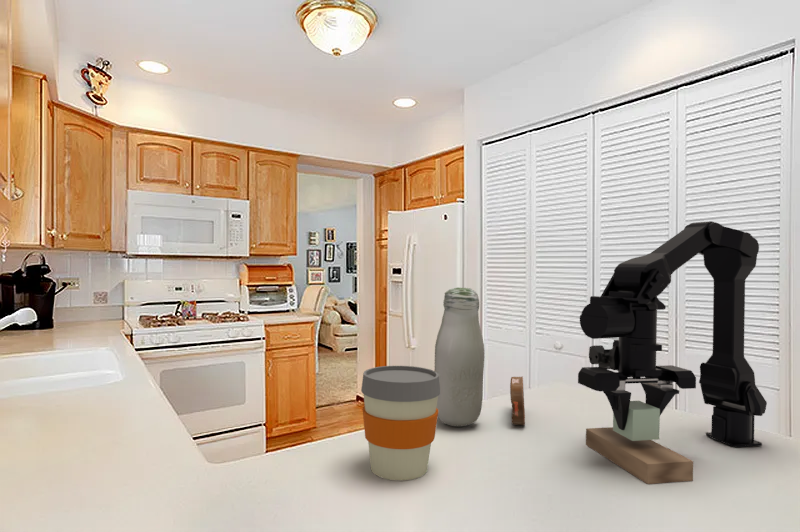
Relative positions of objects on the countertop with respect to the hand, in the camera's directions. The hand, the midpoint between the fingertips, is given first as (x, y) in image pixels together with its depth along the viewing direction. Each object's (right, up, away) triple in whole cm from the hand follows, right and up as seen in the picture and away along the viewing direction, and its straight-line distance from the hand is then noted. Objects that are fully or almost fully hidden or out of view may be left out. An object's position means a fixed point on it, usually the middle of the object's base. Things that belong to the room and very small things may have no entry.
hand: (635, 428), depth 80 cm
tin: (-15, -6, +22) cm, 27 cm away
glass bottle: (-28, -5, +17) cm, 33 cm away
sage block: (0, -1, 0) cm, 1 cm away
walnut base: (0, -6, 0) cm, 6 cm away
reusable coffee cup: (-40, -5, -5) cm, 41 cm away
